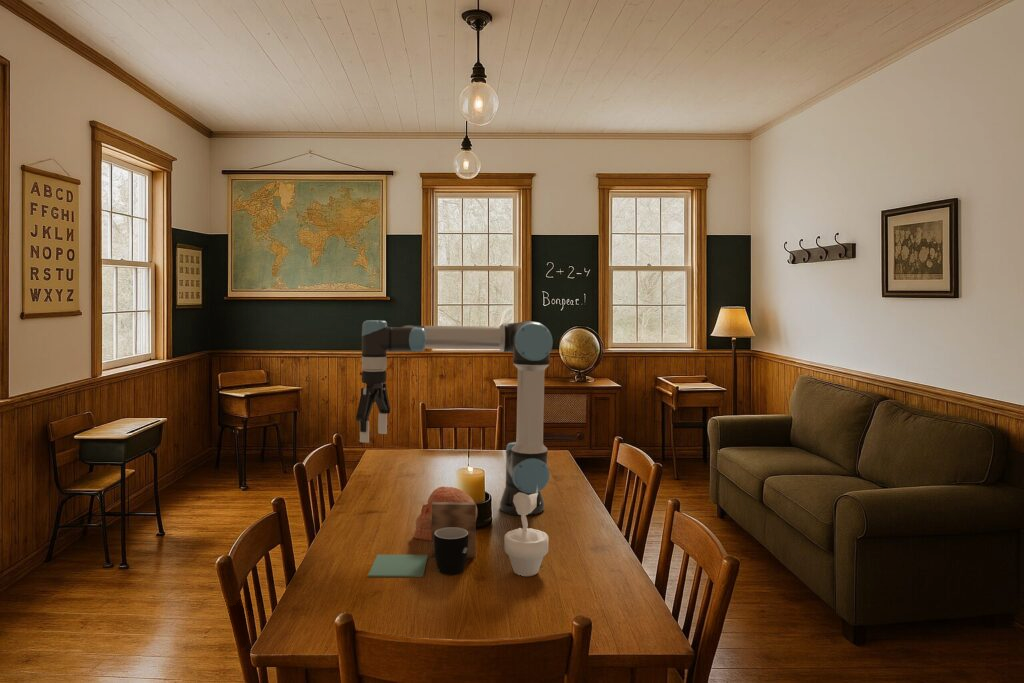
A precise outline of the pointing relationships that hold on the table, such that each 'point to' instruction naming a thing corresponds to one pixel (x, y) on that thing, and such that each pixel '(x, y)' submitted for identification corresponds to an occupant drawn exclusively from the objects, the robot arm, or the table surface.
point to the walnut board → (455, 521)
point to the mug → (451, 549)
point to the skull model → (425, 517)
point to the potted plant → (525, 539)
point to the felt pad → (398, 566)
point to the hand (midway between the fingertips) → (373, 437)
